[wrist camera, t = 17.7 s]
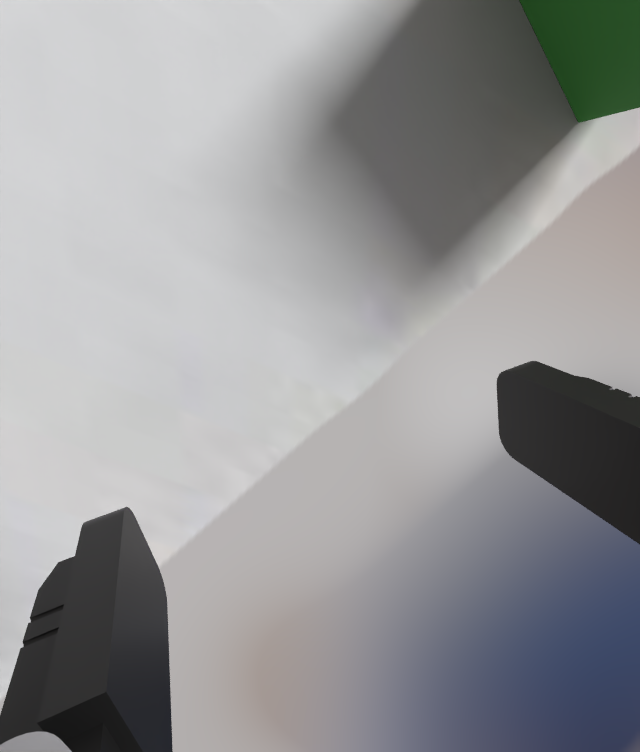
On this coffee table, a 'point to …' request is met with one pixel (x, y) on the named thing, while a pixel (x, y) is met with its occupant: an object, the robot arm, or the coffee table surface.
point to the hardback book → (591, 51)
